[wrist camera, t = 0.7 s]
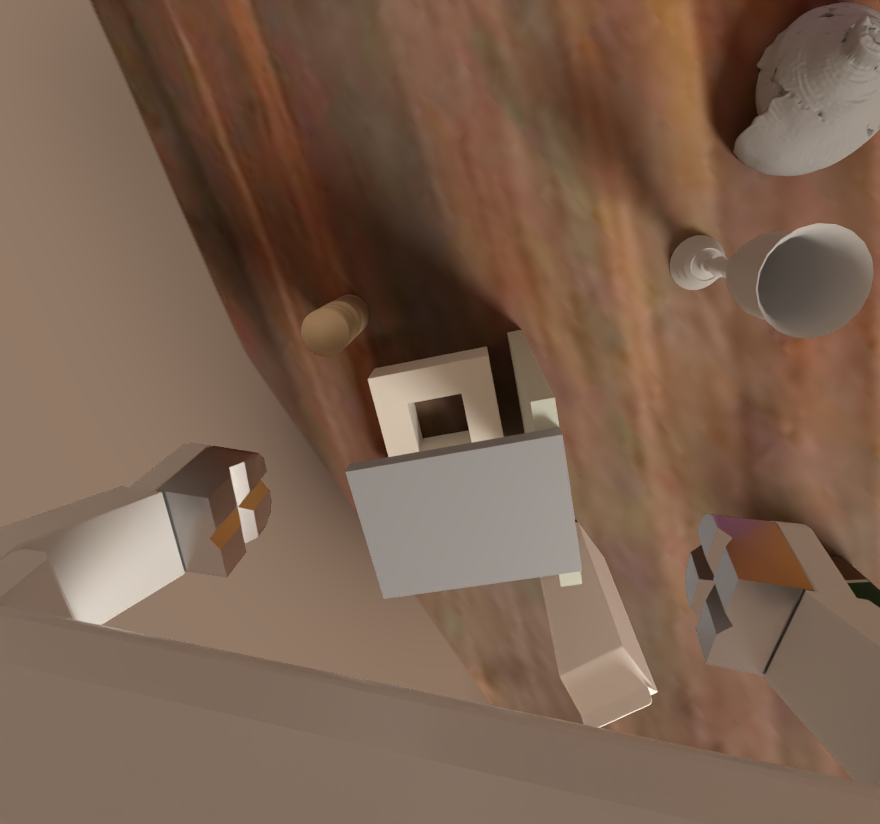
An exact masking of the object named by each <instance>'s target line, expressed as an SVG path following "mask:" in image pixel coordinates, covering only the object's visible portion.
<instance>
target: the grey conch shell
mask: <svg viewBox="0 0 880 824" xmlns="http://www.w3.org/2000/svg"><path fill="white" fill-rule="evenodd" d="M757 67H758V68H759V69H761V70H760V73H759V74H758V80H757V84H756V93H755V96H756V109H757V113H758V116H757V117H755V118H754V120H753V121H752V124H751V125H750V126H749V127H748V128H747V129H745V130H744V131H743V132H742V133H741V134H740V135H739V136H738V137H737V139H736V142H735V147H734V150H733V153H734V154H735V155H736V156H737V158H738V159H739V160H740V161H741V162H742V163H744V164H745V165H746V166H748V167H750V168H752V169H754V170H756V171H759V172H762V173H764V174H769V175H779V176H797V175H803V174H806V173H810V172H813V171H816V170H819V169H822V168H826V167H828V166H830V165H832V164H834V163H837V162H838V161H840V160H842V159H843V158H845V157H846V156H848V155H850V154H851V153H852V152H854V151H855V150H856V149H858V148H859V147H860V146H861V145H863V144H864V143H865V142H867V141H868V140H869V139H870V138H871V137H872V136H873V135H874V134H875V133H876V132H877V131H878V130H879V129H880V13H879V12H878V11H876V10H874V9H872V8H871V7H869V6H865V5H862V4H858V3H850V2H845V3H835V4H830V5H825V6H822V7H817V8H814V9H812V10H810V11H808V12H806V13H804V14H803V15H801V16H800V17H799V18H798V19H797V20H795V21H794V22H793V23H792V24H791V25H790V26H789V27H788V28H786V29H785V30H784V31H783V32H781V33H780V34H778V36H777V37H776V39H775V41H774V42H773V43H772V44H771V45H770V46H768V47H767V48H766V49H765V51H764V54H763V56H762V57H761V60H760V61H759V62H758V64H757Z"/></svg>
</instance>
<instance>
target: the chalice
mask: <svg viewBox="0 0 880 824" xmlns="http://www.w3.org/2000/svg"><path fill="white" fill-rule="evenodd" d="M670 273H671V276H672V278H673V280H674V281H675V283H677V284H678V285H679V286H680V287H682V288H685V289H688V290H698V289H702V288H705V287H707V286H708V285H710V284H712V283H713V282H714V281H715V280H716V279H717V278H718V277H724V278H726V283H727V288H728V290H729V292H730V293H731V295H732V297H733V299H734V300H735V302H736V304H737V305H738V306H739V307H740V308H742V309H743V310H744V311H745V312H746V313H749V314H751V315H754V316H756V317H759V318H762V319H765V320H766V321H767V322H768V323H770V324H771V325H772V326H773V327H774V328H775V329H776V330H777V331H779V332H782V333H784V334H786V335H789V336H791V337H796V338H815V337H819V336H823V335H827V334H830V333H832V332H834V331H835V330H837V329H839V328H841V327H843V326H844V325H846V324H847V323H848V322H849V321H850V320H851V319H852V318H853V317H854V316H855V315H856V314H857V313H858V312H859V311H860V310H861V308H862V306H863V304H864V303H865V301H866V299H867V297H868V296H869V294H870V290H871V285H872V281H873V276H874V274H873V264H872V257H871V255H870V253H869V251H868V249H867V247H866V245H865V243H864V242H863V241H862V240H861V239H860V238H859V237H858V236H857V235H856V234H855V233H854V232H853V231H851V230H848V229H846V228H844V227H841V226H839V225H837V224H821V223H817V224H813V225H810V226H806V227H802V228H798V229H797V230H795V231H793V232H781V231H773V232H769V233H766V234H762V235H759V236H757V237H756V238H754V239H753V240H751V241H749V242H748V243H746V244H745V245H743V246H742V247H741V248H739V249H738V251H737V252H736V253H735V254H734V255H733V256H732V258H731V259H727V258H726V257H725V254H724V250H723V249H722V247H721V245H720V243H719V242H718V241H716V240H715V239H714V238H712V237H709V236H707V235H696V236H693V237H689V238H687V239H686V240H684V241H683V242H681V243H680V244H679V246H678V247H677V248H676V249H675V250H674V252H673V255H672V257H671V260H670Z"/></svg>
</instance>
